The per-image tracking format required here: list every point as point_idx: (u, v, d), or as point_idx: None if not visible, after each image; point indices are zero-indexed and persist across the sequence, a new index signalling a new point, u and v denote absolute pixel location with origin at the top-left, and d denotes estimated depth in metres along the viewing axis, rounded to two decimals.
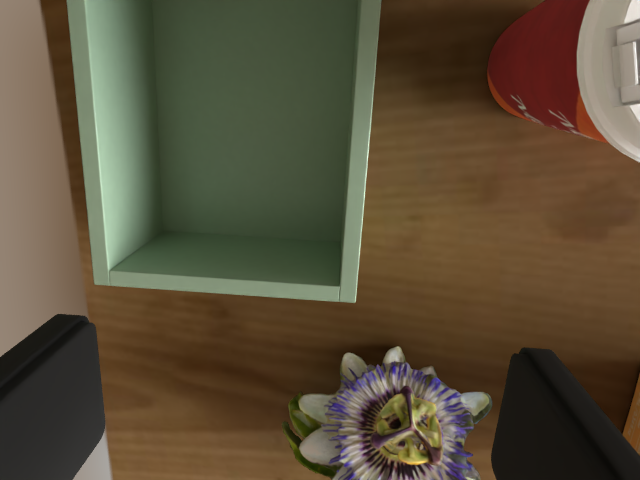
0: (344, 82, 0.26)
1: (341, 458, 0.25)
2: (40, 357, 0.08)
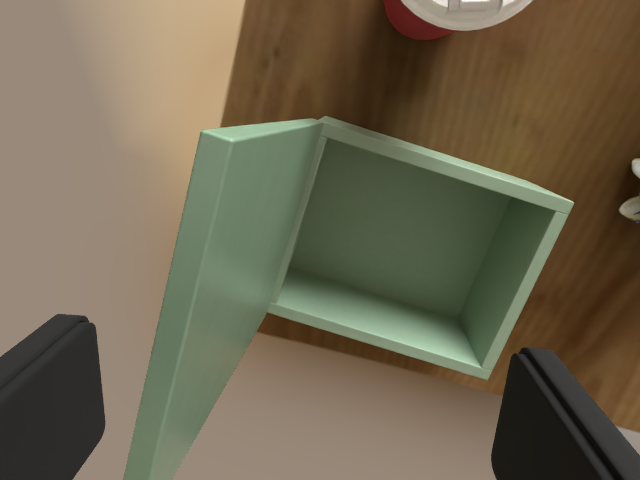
0: None
1: None
2: (40, 357, 0.08)
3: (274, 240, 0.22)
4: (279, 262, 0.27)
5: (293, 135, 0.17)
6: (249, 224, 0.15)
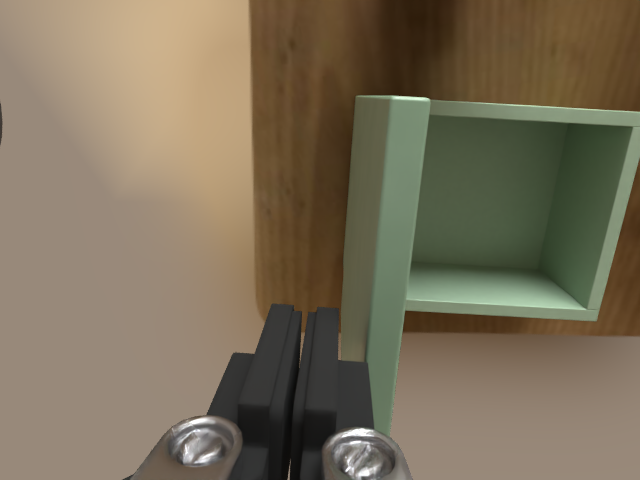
0: (434, 118, 0.32)
1: None
2: (287, 340, 0.09)
3: None
4: None
5: None
6: None
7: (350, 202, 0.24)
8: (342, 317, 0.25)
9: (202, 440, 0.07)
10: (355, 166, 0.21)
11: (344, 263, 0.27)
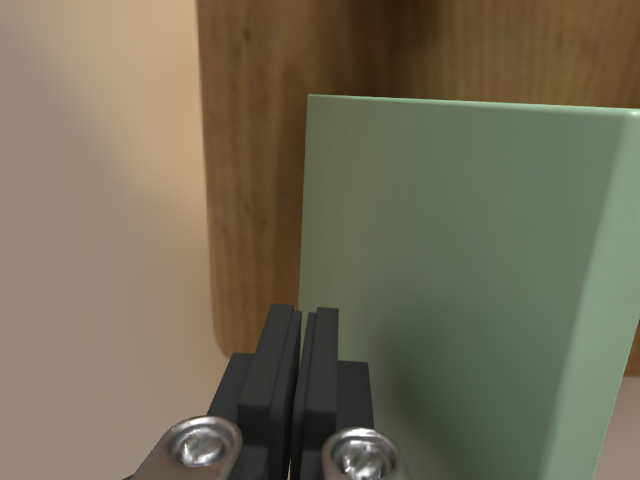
0: None
1: None
2: (287, 340, 0.09)
3: None
4: None
5: None
6: None
7: (309, 229, 0.19)
8: None
9: (202, 440, 0.07)
10: (325, 187, 0.16)
11: None
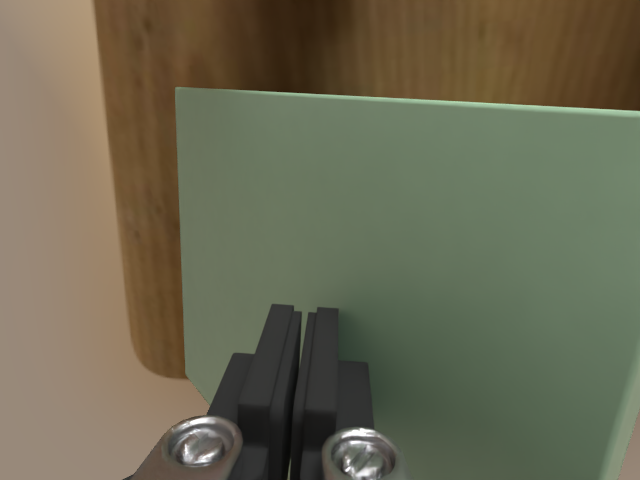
0: None
1: None
2: (287, 340, 0.09)
3: None
4: None
5: None
6: None
7: (198, 236, 0.18)
8: (213, 389, 0.18)
9: (202, 440, 0.07)
10: (226, 189, 0.15)
11: (183, 314, 0.20)
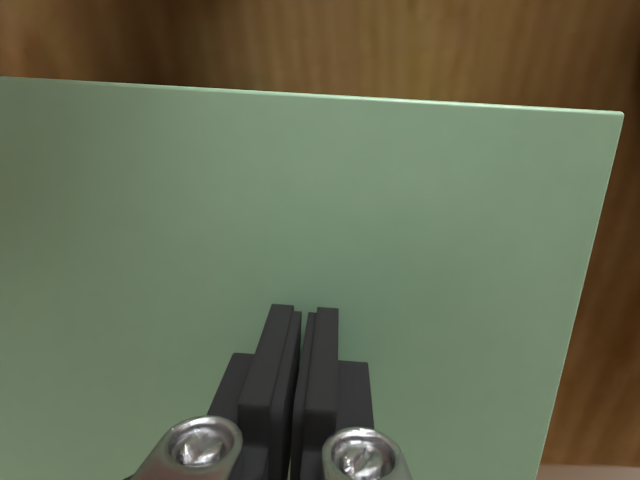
0: None
1: None
2: (287, 340, 0.09)
3: None
4: None
5: None
6: None
7: None
8: (63, 479, 0.14)
9: (202, 440, 0.07)
10: (73, 214, 0.11)
11: None
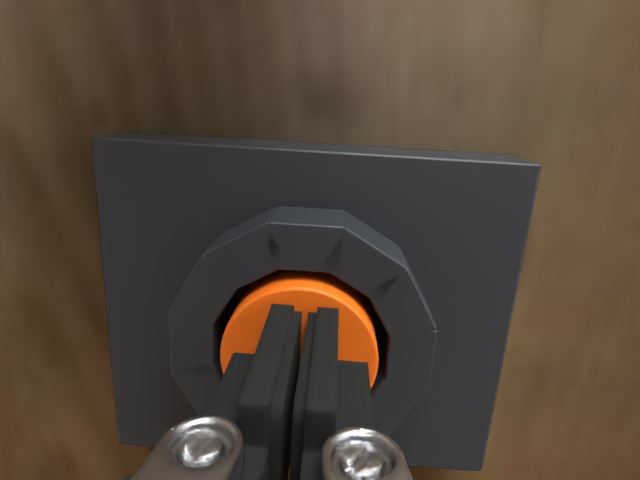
0: None
1: None
2: (287, 340, 0.09)
3: None
4: None
5: None
6: None
7: None
8: None
9: (202, 440, 0.07)
10: None
11: None
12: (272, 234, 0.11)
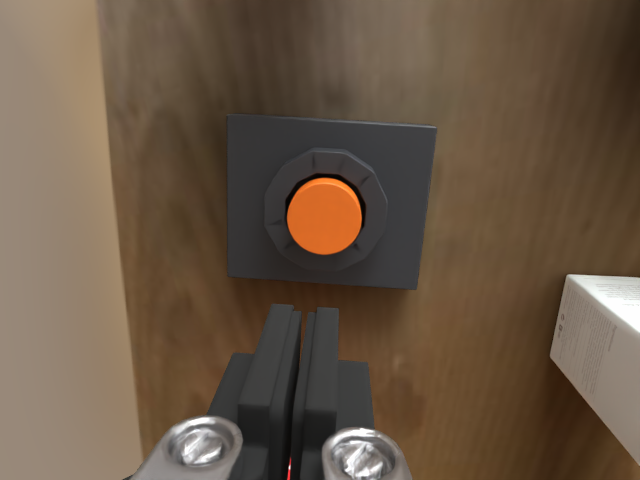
0: None
1: None
2: (287, 340, 0.09)
3: None
4: None
5: None
6: None
7: None
8: None
9: (202, 440, 0.07)
10: None
11: None
12: (313, 156, 0.25)
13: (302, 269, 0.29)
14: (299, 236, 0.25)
